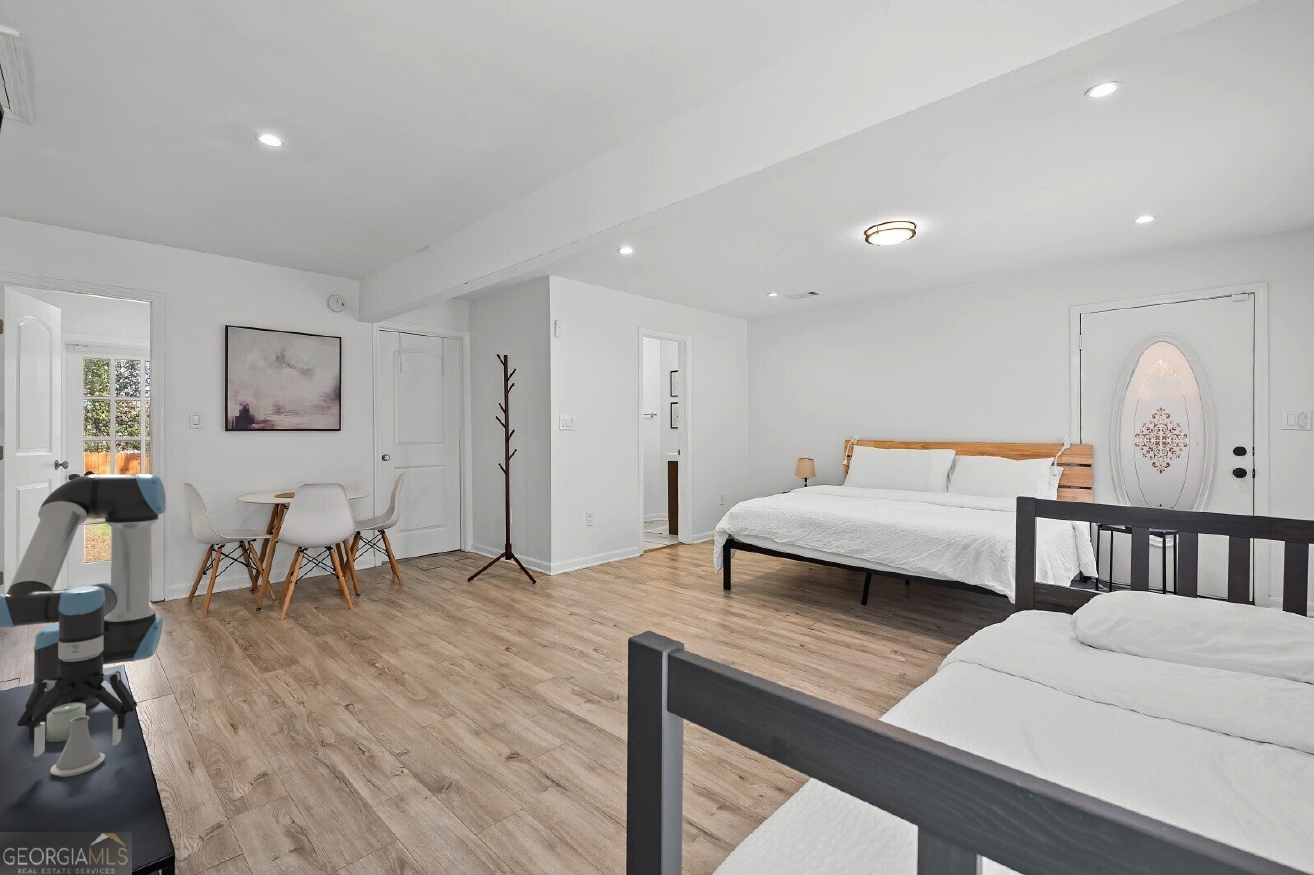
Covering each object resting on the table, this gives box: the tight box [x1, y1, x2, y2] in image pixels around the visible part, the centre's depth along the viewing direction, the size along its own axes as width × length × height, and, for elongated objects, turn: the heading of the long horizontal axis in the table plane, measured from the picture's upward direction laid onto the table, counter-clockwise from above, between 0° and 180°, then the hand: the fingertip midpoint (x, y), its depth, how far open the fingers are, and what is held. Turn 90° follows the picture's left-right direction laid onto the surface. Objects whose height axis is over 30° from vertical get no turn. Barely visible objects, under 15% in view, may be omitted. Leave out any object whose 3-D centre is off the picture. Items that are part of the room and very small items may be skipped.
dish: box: [49, 751, 106, 778], centre depth 137 cm, size 9×9×1 cm
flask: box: [55, 715, 101, 770], centre depth 138 cm, size 7×7×10 cm
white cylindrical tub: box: [45, 703, 87, 743], centre depth 152 cm, size 7×7×7 cm
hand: (78, 748), depth 138 cm, fingers open, 13 cm apart
